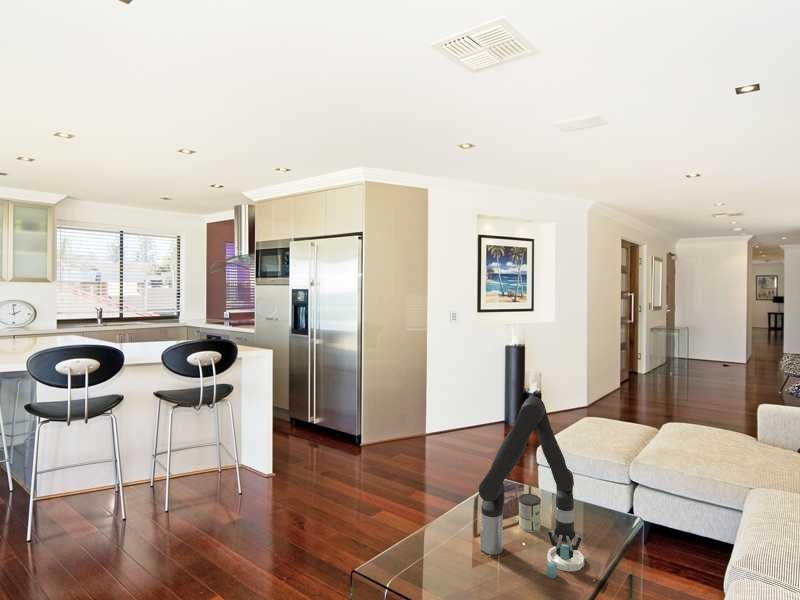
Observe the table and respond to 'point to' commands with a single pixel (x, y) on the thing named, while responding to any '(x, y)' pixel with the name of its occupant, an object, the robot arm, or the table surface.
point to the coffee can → (529, 512)
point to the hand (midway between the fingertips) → (564, 556)
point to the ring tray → (566, 565)
